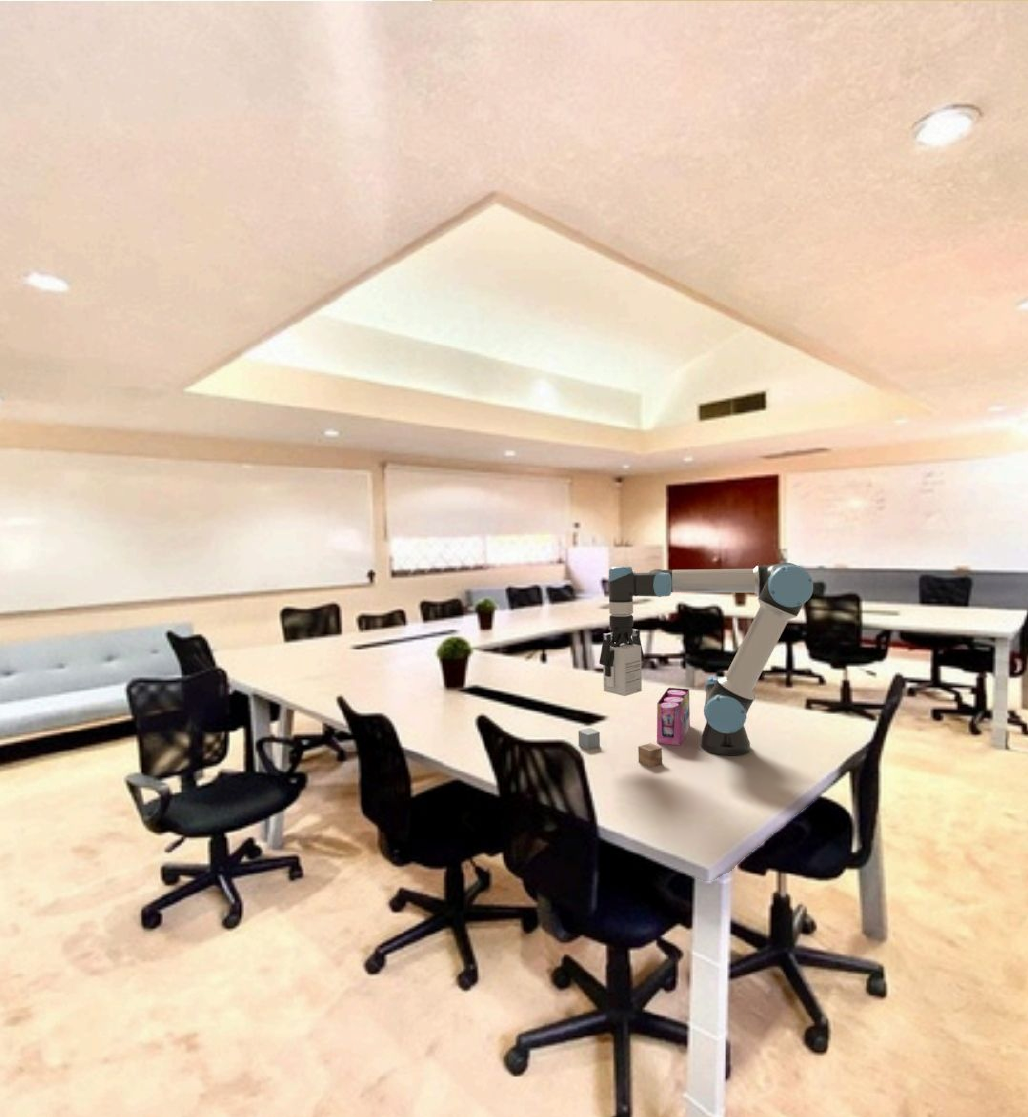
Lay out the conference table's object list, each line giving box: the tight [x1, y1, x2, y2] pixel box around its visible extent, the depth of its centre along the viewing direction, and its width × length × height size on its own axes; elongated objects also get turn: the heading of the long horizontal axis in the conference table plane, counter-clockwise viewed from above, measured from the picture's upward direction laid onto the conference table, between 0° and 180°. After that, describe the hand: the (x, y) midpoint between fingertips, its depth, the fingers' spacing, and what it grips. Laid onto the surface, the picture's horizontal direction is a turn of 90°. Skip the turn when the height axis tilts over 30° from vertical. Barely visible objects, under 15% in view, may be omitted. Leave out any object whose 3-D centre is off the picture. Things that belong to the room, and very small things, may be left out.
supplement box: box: [602, 643, 643, 697], centre depth 192 cm, size 9×9×15 cm
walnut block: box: [637, 742, 663, 768], centre depth 185 cm, size 5×5×5 cm
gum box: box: [656, 687, 691, 746], centre depth 209 cm, size 24×8×14 cm, turn 156°
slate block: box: [578, 727, 601, 751], centre depth 201 cm, size 5×5×5 cm
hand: (622, 683), depth 193 cm, fingers closed on supplement box, 9 cm apart
